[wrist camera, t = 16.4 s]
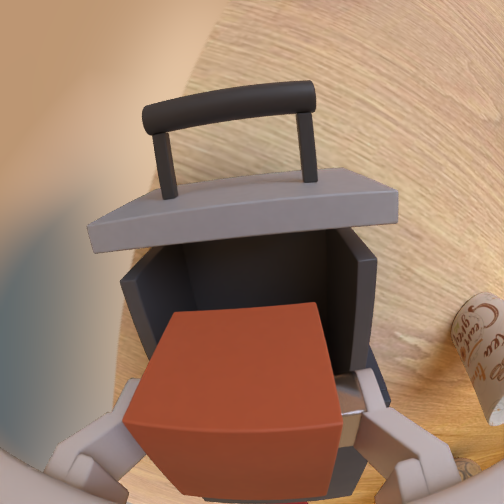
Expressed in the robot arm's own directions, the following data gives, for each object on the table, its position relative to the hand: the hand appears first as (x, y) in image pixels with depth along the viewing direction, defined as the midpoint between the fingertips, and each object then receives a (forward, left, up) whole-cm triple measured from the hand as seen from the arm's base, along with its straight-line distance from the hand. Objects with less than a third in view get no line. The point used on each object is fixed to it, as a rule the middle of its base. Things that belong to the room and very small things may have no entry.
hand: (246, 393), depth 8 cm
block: (0, 0, -2) cm, 2 cm away
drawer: (0, 0, -11) cm, 11 cm away
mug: (+21, +11, -12) cm, 26 cm away
